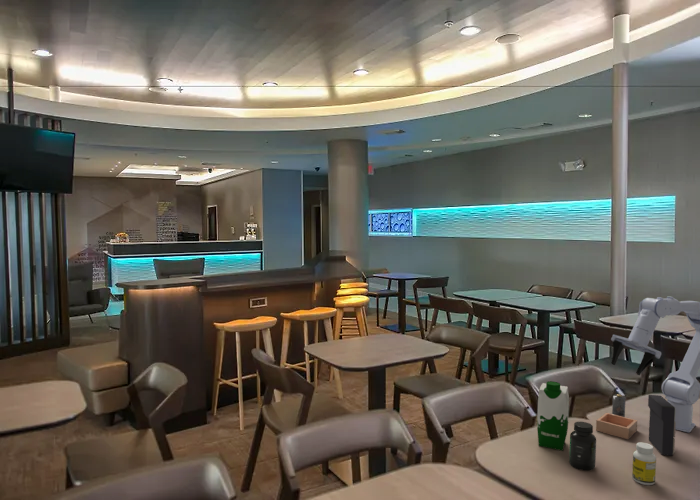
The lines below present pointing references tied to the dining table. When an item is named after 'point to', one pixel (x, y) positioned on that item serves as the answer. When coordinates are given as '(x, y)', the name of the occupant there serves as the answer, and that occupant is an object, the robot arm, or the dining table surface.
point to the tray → (616, 425)
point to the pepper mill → (618, 405)
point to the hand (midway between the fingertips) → (625, 368)
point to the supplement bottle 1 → (582, 447)
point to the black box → (662, 424)
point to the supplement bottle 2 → (644, 464)
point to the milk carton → (552, 415)
